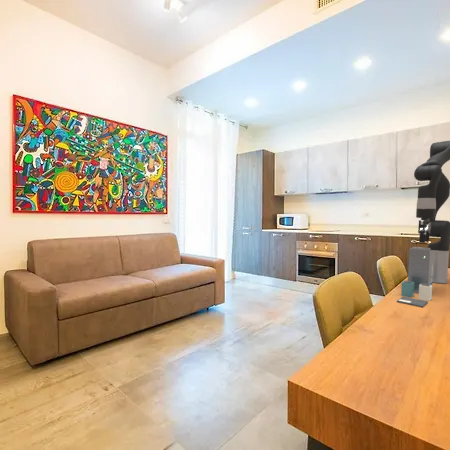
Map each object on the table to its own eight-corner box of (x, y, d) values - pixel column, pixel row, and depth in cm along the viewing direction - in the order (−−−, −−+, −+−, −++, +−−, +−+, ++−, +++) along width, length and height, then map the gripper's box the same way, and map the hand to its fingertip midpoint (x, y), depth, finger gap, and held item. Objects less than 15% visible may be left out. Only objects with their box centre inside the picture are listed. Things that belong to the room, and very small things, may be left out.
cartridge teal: (403, 293, 131) (404, 279, 130) (413, 295, 128) (414, 281, 127) (401, 295, 128) (401, 281, 128) (411, 297, 125) (412, 283, 125)
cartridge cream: (420, 297, 126) (421, 282, 126) (431, 299, 123) (432, 284, 123) (418, 298, 123) (419, 284, 123) (429, 301, 120) (430, 286, 120)
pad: (402, 297, 124) (402, 296, 124) (427, 302, 118) (428, 301, 118) (396, 302, 118) (396, 300, 118) (422, 307, 112) (423, 305, 112)
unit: (410, 289, 139) (412, 246, 138) (430, 292, 134) (433, 248, 133) (407, 291, 135) (409, 247, 134) (427, 295, 129) (430, 249, 128)
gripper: (420, 208, 144) (418, 240, 145) (412, 207, 134) (411, 242, 135) (438, 208, 139) (436, 241, 140) (432, 207, 129) (430, 243, 130)
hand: (424, 241), depth 137 cm, fingers open, 8 cm apart
